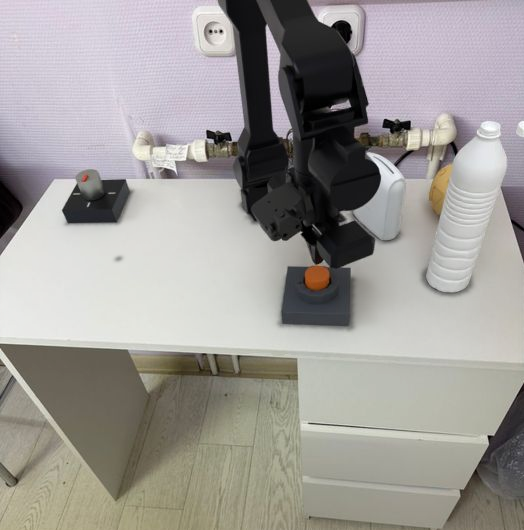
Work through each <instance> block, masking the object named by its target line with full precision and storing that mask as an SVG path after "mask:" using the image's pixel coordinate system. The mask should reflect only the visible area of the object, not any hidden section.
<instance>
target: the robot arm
mask: <svg viewBox="0 0 524 530" xmlns="http://www.w3.org/2000/svg"><path fill="white" fill-rule="evenodd" d="M217 4H218V7H219V8H220V9H221V11H222V12H223V14H224V15H225V17H226V18H227V20H228V21H229V22H230V24H231V27H232V32H233V41H234V42H233V43H234V50H235V57H236V65H237V75H238V83H239V84H238V85H239V91H240V101H241V109H242V118H243V129H242V131H241V133H240V135H239V137H238V139H237V141H236V146H237V147H236V148H237V156H236V157H235V159H234V162H233V165H232V169H233V174H234V178H235V180H236V182H237V184H238V186H239V188H240V189H239V190H240V197H241V206H242V208H243V210H244V211H245V213H246V214H247V215H249V216H250V217H251V219H252V220H253V221H254V222H257V223H258V224H259V226H260V228H261V229H262V230H263V232H264V234H266V235H267V237H268V238H269V240H270V241H272V242H278V241H282V242H283V241H284V242H286V241H289V240H291V239H292V238H293V237H295V236H296V235H298V234H299V233H300V232H301V233H300V236H301V237H302V238H303V240H304V242H305V244H306V248H307V249H308V252H309V255H310V258H311V261H312V263H313V264H314V266H319V265H321V264H322V263H323V262H325V263H326V264H327V266H328V267H330V268H336V269H337V268H340V267H346V266H347V265H350V264H352V263H354V262H358V261H360V260H362V259H365V258H368V257H370V256H373V255H374V252H375V247H376V241H377V240H376V236H374V234H372V233H371V232H370V231H369V230H368V229H367V228H366V227H365V226H364V225H363V224H362V223H361V222H360V221H357V220H355V219H354V220H352V221H348V218H347V217H346V216H345V215H344V214H343V213H342V212H353V210H356V209H358V208H360V207H362V206H364V205H365V204H367V203H368V202H369V201H370V200H371V199H372V198H373V197H374V195H375V194H376V193H377V191H378V189H379V186H380V183H381V174H380V171H379V168H378V166H377V165H376V163H375V162H374V161H373V160H372V159H371V158H370V157H369V156H368V155H367V154H366V153H367V151H366V150H367V148H366V146H365V145H364V144H363V143H362V142H361V141H360V140H359V139H357V138H356V137H355V130H356V129H355V128H358V127H361V126H366V125H368V123H369V117H368V112H367V107H368V106H369V105H370V102H369V99H368V95H367V93H366V92H367V91H366V89H365V85H364V82H363V77H362V74H361V71H360V67H359V65H358V61H357V58H356V56H355V54H354V53H353V52H352V50H351V48H350V47H349V45H348V44H347V43H346V41H345V39H344V38H343V36H341V34H340V32H339V31H338V30H337V29H336V28H334V27H332V26H330V25H327V24H325V23H324V22H321V21H320V20H319V19H318V18H317V16H316V14H315V12H314V10H313V9H312V6H311V4H310V2H309V0H217ZM267 27H268V30H269V32H270V34H271V36H272V38H273V41H274V44H275V45H276V47H277V49H278V52H279V63H278V64H279V65H278V66H279V67H278V73H277V81H278V90H279V94H280V97H281V100H282V103H283V106H284V109H285V111H286V112H285V113H286V115H287V119H288V121H289V123H290V127H291V130H292V153H293V154H292V155H293V167H290V168H289V162H290V159H289V158H290V153H289V152H287V149H286V146H285V144H284V142H283V141H282V140H281V138H280V137H279V136H278V134H277V132H276V131H275V130H274V123H273V122H274V121H273V109H272V94H271V81H270V80H271V79H270V67H269V54H268V53H269V51H268V41H267ZM347 102H349V105H350V106H348V107H345V108H341V109H337V110H333V109H332V108H330V107H333V106H337V105H342V104H346V103H347Z"/></svg>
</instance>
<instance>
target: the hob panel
mask: <svg viewBox="0 0 524 530" xmlns="http://www.w3.org/2000/svg"><path fill="white" fill-rule="evenodd" d="M101 180H102V183H103V186H104V188H105V194H104V196H103V197H101V198H99V199H97V200H92V201H90V200H86V199H84V198H83V196H82V193H81V191H80V189H79V186H78V184H77V183H75V186H74V187H73V189H72V191H71V193H70V194H69V196H68V199H67V200H66V202H65V203H64V205H63V207H62V209H61V212H62V214H63V216H64V218H65V221H66V222H67V224H100V223H101V224H103V223H104V224H105V223H107V224H109V223H118V221H119V218H120V216H121V214H122V212H123V209H124V207H125V205H126V202H127V200H128V198H129V195H130V193H131V191H130V188H129V184H128V182H127V179H126V178H111V179H110V178H109V179H101Z"/></svg>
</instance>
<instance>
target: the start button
mask: <svg viewBox="0 0 524 530" xmlns="http://www.w3.org/2000/svg"><path fill="white" fill-rule="evenodd" d="M311 266H312V267H310V266H309V267H310V268H308V269H307V270H306V272H305V284H306V286H307V287H308V288H309V289H311V290H322V289H325V288H326V287H327V286H328V285H329V271H328V269H327V268H325V267H323V266H324V265H311Z"/></svg>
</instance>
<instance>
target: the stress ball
mask: <svg viewBox="0 0 524 530" xmlns="http://www.w3.org/2000/svg"><path fill="white" fill-rule="evenodd" d="M452 164H453V162H451V163H449V164H447V165H444V166H443V167H442V168H440V169H439V170H438V172H437V173H436V174H435V176H434V178H433V179H432V182H431V184H430V188H429V191H428V195H427V196H428V201H429V202H430V205H431V208H432V211H433V212H434V213H436V214H437V215H438V216H439V217H440V215H441V211H442V208H443V204H444V199H445V195H446V191H447V187H448V183H449V178H450V174H451V169H452Z"/></svg>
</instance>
